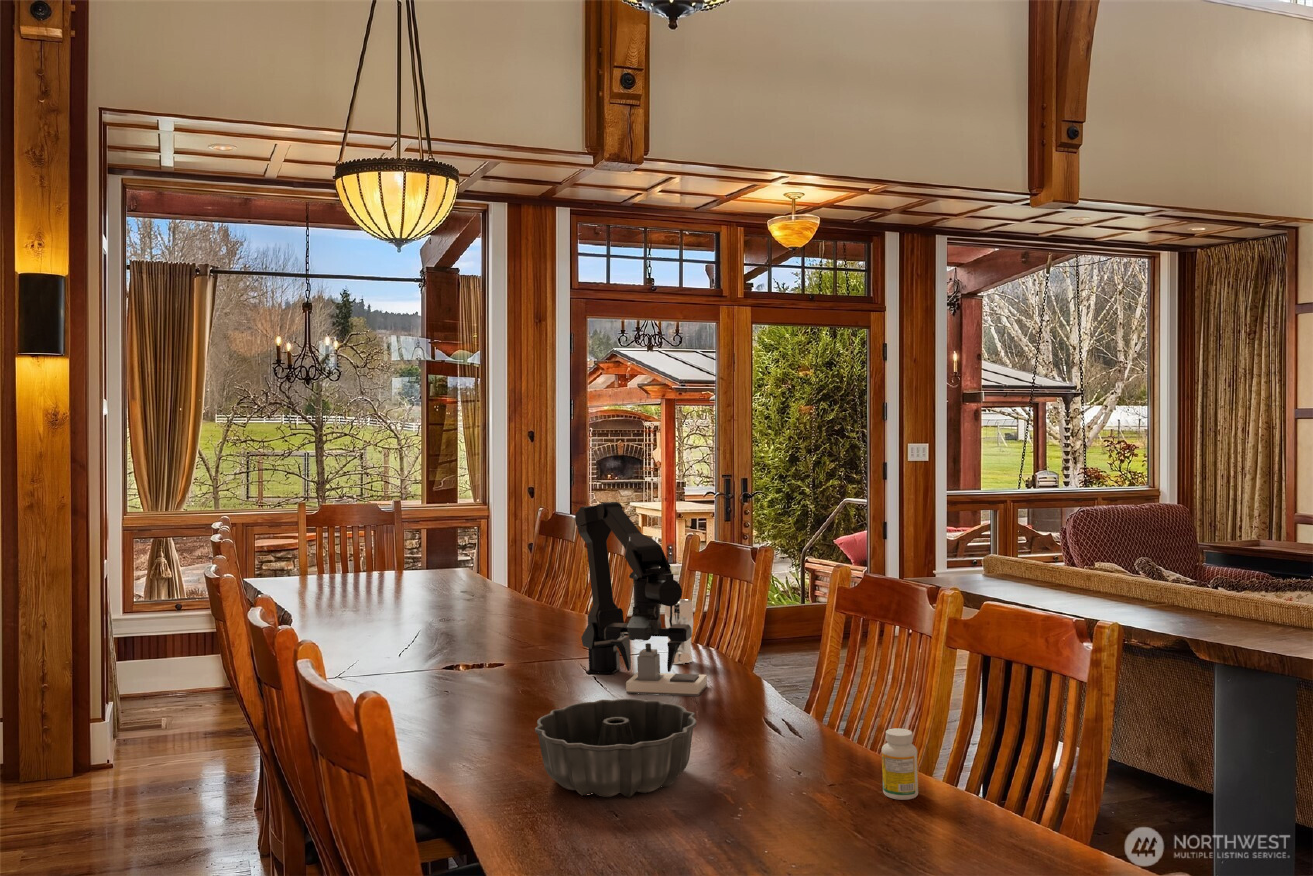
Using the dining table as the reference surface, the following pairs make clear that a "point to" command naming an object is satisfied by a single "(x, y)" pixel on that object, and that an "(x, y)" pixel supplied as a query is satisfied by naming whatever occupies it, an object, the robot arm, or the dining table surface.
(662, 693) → the beige flat block
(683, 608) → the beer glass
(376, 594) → the dining table surface
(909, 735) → the supplement bottle
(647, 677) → the plug
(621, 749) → the bundt pan
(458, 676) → the dining table surface
